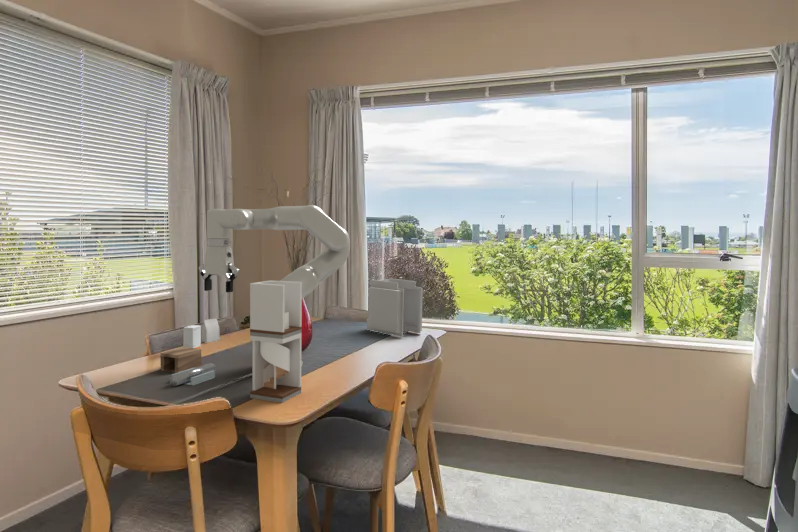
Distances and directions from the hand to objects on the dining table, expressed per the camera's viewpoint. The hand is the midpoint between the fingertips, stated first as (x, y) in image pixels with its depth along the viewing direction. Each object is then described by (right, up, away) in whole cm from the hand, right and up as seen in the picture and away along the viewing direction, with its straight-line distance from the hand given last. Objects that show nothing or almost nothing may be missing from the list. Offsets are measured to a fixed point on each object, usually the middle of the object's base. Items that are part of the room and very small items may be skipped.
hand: (218, 291), depth 199 cm
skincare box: (-17, -27, +20) cm, 37 cm away
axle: (-2, -28, -18) cm, 33 cm away
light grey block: (-19, -25, +48) cm, 57 cm away
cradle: (-2, -30, -18) cm, 35 cm away
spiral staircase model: (+27, -31, -28) cm, 50 cm away
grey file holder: (+62, -24, +75) cm, 101 cm away
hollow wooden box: (-12, -28, -3) cm, 31 cm away
